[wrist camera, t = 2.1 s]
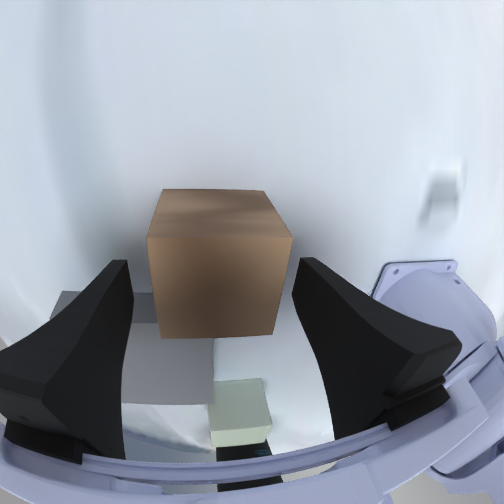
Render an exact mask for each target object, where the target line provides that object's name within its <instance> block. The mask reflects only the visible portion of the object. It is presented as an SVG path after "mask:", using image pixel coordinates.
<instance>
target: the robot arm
mask: <svg viewBox="0 0 504 504" xmlns="http://www.w3.org/2000/svg"><path fill="white" fill-rule="evenodd" d="M457 266H458V263H457V262H456V261H437V262H417V263H394V264H388V265H387V266H386V267H385V268H384V270H383V273H382V275H381V278H380V280H379V283H378V285H377V287H376V290H375V292H374V294H373V296H372V298H371V297H370V296H368V295H367V294H365V293H364V292H362V291H361V290H359V289H358V288H356V287H355V286H353V285H352V284H350V283H349V282H348V281H346V280H345V279H343V278H342V277H341V276H339V275H338V274H337V273H335V272H334V271H333V270H331V269H330V268H328V267H327V266H326V265H324V264H323V263H321V262H320V261H318V260H317V259H315V258H314V257H305V258H300V262H299V266H298V270H297V274H296V279H295V283H294V287H293V291H292V298H293V302H294V305H295V309H296V312H297V315H298V317H299V320H300V322H301V324H302V327H303V329H304V331H305V334H306V336H307V338H308V340H309V343H310V345H311V347H312V349H313V352H314V354H315V357H316V359H317V362H318V365H319V369H320V372H321V375H322V379H323V382H324V386H325V390H326V394H327V398H328V403H329V408H330V413H331V418H332V424H333V431H334V438H335V441H332V442H328V443H325V444H321V445H317V446H313V447H309V448H305V449H301V450H296V451H292V452H287V453H282V454H276V455H271V456H265V457H258V458H251V459H243V460H233V461H222V462H206V463H155V462H141V461H130V460H126V458H125V451H124V443H123V433H122V416H121V385H122V370H123V362H124V357H125V352H126V347H127V342H128V337H129V332H130V328H131V323H132V317H133V307H134V295H133V290H132V285H131V280H130V275H129V269H128V263H127V260H112V261H111V262H110V263H109V264H108V265H107V266H106V267H105V268H104V269H103V270H102V272H101V273H100V274H99V275H98V276H97V277H96V278H95V279H94V280H93V281H92V282H91V283H90V284H89V285H88V286H87V287H86V288H85V289H84V290H83V291H82V292H81V293H80V294H79V295H78V296H77V297H76V298H75V299H74V300H73V301H72V302H71V303H70V304H69V305H67V306H66V307H65V308H64V309H63V310H62V311H61V312H59V313H58V314H57V315H56V316H54V317H53V318H52V319H51V320H49V321H48V322H47V323H45V324H44V325H42V326H41V327H40V328H38V329H37V330H36V331H34V332H33V333H31V334H30V335H28V336H27V337H25V338H23V339H22V340H20V341H18V342H17V343H15V344H13V345H11V346H9V347H7V348H5V349H3V350H2V351H0V413H1V414H2V415H3V416H4V417H6V418H7V423H6V425H4V424H2V423H1V422H0V487H1V488H2V489H4V490H6V491H8V492H10V493H12V494H13V495H15V496H17V497H19V498H21V499H23V500H25V501H27V502H29V503H31V504H394V503H393V501H392V498H391V496H390V493H389V492H390V491H392V490H394V489H395V488H397V487H399V486H401V485H402V484H404V483H406V482H407V481H409V480H411V479H412V478H414V477H415V476H417V475H418V474H420V473H421V472H423V473H425V474H426V475H428V476H429V477H431V478H433V479H436V480H437V481H439V482H440V483H441V484H442V485H443V486H444V487H445V488H446V490H447V491H448V492H449V493H451V494H470V493H483V492H484V493H488V494H489V496H490V497H491V499H492V500H493V502H494V503H495V504H504V336H502V337H500V339H499V340H498V341H496V336H497V327H496V322H495V319H494V316H493V314H492V312H491V310H490V309H489V308H488V307H487V306H486V304H485V303H484V302H483V301H482V300H481V299H480V298H479V297H478V296H477V295H476V294H475V293H474V292H473V291H472V289H471V288H470V287H469V286H468V285H467V284H466V283H465V282H464V281H463V280H462V279H461V278H460V277H459V276H458V275H457V274H456V273H455V270H456V268H457ZM349 456H350V457H349ZM346 457H347V458H346ZM343 458H345V459H343ZM340 459H343V460H340ZM337 460H340V461H338V462H336V464H335V465H334V466H332V467H331V468H330V469H328V470H326V471H324V472H322V473H320V474H318V475H314V476H310V477H306V478H302V479H298V480H293V481H288V482H283V483H278V484H273V485H268V486H262V487H256V488H249V489H242V490H234V491H225V492H216V493H203V494H184V495H183V494H182V495H181V494H180V495H174V494H172V493H170V492H166V491H163V490H162V488H161V487H160V486H155V485H148V484H142V483H150V484H171V485H174V484H175V485H198V484H219V483H231V482H240V481H248V480H255V479H262V478H268V477H274V476H279V475H283V474H289V473H293V472H297V471H302V470H306V469H310V468H313V467H317V466H320V465H324V464H327V463H331V462H334V461H337ZM136 482H138V483H136Z"/></svg>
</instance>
